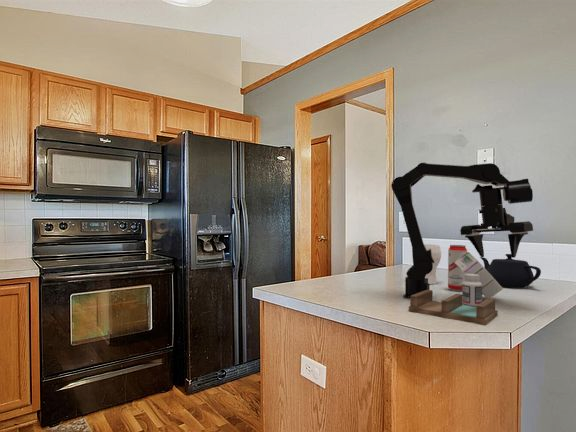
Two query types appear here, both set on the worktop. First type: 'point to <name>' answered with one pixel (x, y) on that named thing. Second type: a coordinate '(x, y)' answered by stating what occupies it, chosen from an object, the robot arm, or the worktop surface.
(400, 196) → the robot arm
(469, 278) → the pill bottle
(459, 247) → the beer can
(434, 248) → the cup
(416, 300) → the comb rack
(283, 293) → the worktop surface
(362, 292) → the worktop surface
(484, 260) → the teapot
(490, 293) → the syrup box
